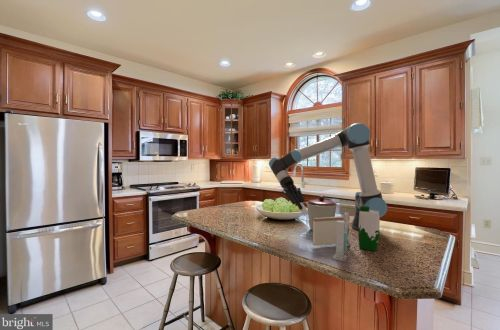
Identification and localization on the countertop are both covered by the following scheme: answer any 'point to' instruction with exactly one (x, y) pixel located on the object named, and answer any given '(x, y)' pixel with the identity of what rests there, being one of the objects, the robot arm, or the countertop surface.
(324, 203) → the canister
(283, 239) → the countertop surface
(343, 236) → the gate frame
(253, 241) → the countertop surface
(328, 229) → the gate
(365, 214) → the milk carton
